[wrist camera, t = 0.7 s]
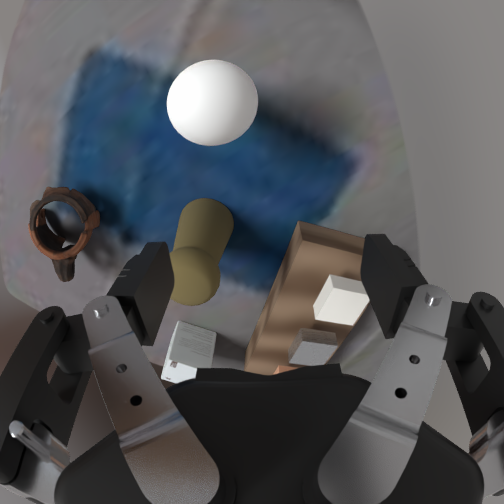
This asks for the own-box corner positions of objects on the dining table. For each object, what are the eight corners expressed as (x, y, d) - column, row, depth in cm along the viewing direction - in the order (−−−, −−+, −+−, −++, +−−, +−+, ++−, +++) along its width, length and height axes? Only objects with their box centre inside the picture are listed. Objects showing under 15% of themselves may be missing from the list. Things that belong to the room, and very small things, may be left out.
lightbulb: (192, 124, 26) (155, 155, 17) (194, 63, 23) (155, 59, 14) (256, 126, 26) (253, 159, 17) (261, 65, 23) (261, 59, 14)
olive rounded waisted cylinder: (170, 209, 32) (136, 271, 22) (220, 190, 30) (201, 250, 21) (194, 252, 35) (173, 321, 26) (242, 237, 33) (235, 307, 24)
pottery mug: (33, 188, 30) (14, 196, 23) (97, 175, 34) (92, 179, 27) (50, 273, 34) (37, 298, 27) (110, 261, 38) (109, 285, 31)
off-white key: (329, 274, 28) (333, 287, 27) (367, 282, 29) (372, 295, 27) (313, 305, 31) (315, 319, 29) (348, 312, 31) (352, 325, 30)
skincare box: (205, 352, 46) (199, 391, 40) (169, 341, 45) (159, 379, 39) (217, 331, 43) (211, 373, 37) (178, 318, 41) (167, 359, 35)
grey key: (300, 327, 33) (302, 340, 31) (335, 332, 33) (338, 345, 32) (288, 349, 35) (288, 362, 34) (320, 354, 36) (322, 366, 34)
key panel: (298, 220, 32) (302, 240, 29) (382, 244, 33) (394, 264, 30) (245, 351, 45) (244, 372, 42) (309, 361, 46) (312, 381, 43)
